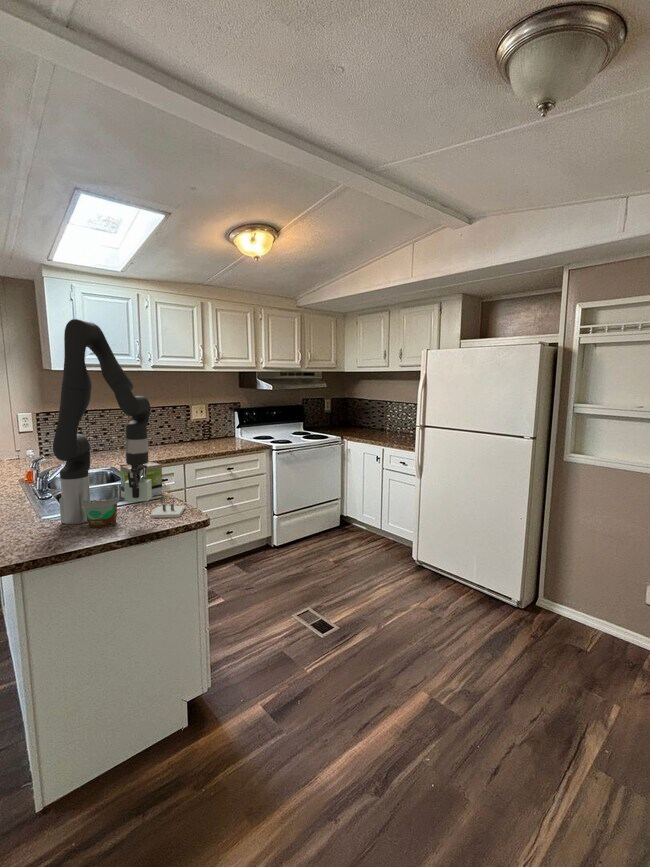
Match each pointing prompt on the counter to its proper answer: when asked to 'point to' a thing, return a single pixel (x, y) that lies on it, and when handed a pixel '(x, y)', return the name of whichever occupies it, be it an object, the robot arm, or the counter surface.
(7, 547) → the counter surface
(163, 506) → the stub plate
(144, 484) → the block
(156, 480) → the tea box
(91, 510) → the food container
